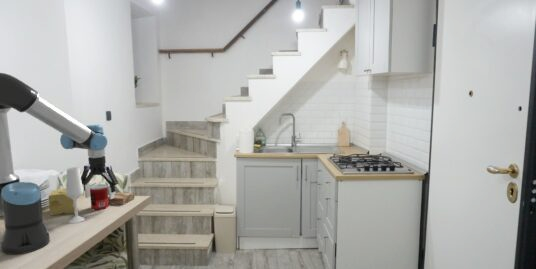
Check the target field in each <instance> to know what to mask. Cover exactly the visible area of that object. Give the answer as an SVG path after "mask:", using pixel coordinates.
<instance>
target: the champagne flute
mask: <svg viewBox="0 0 536 269" xmlns="http://www.w3.org/2000/svg"><path fill="white" fill-rule="evenodd" d="M81 176H82V175H81V172H80V167H77V166H76V167H75V166H74V167H68V168H66V183H65V184H66V186H65V187H66V188H65V189H66V194H67V196H68V197H70V198H71V199H73V200H74V208H75V211H74V217H72V218H71V219H69V220H68V223H70V224H77V223H81V222H83V221H86V218H85V217H83V216H80V215H79V210H78V199H79V198H80V197H81V196H82V195H84V194H83V193H84V186H83V184H82V181H81Z"/></svg>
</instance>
